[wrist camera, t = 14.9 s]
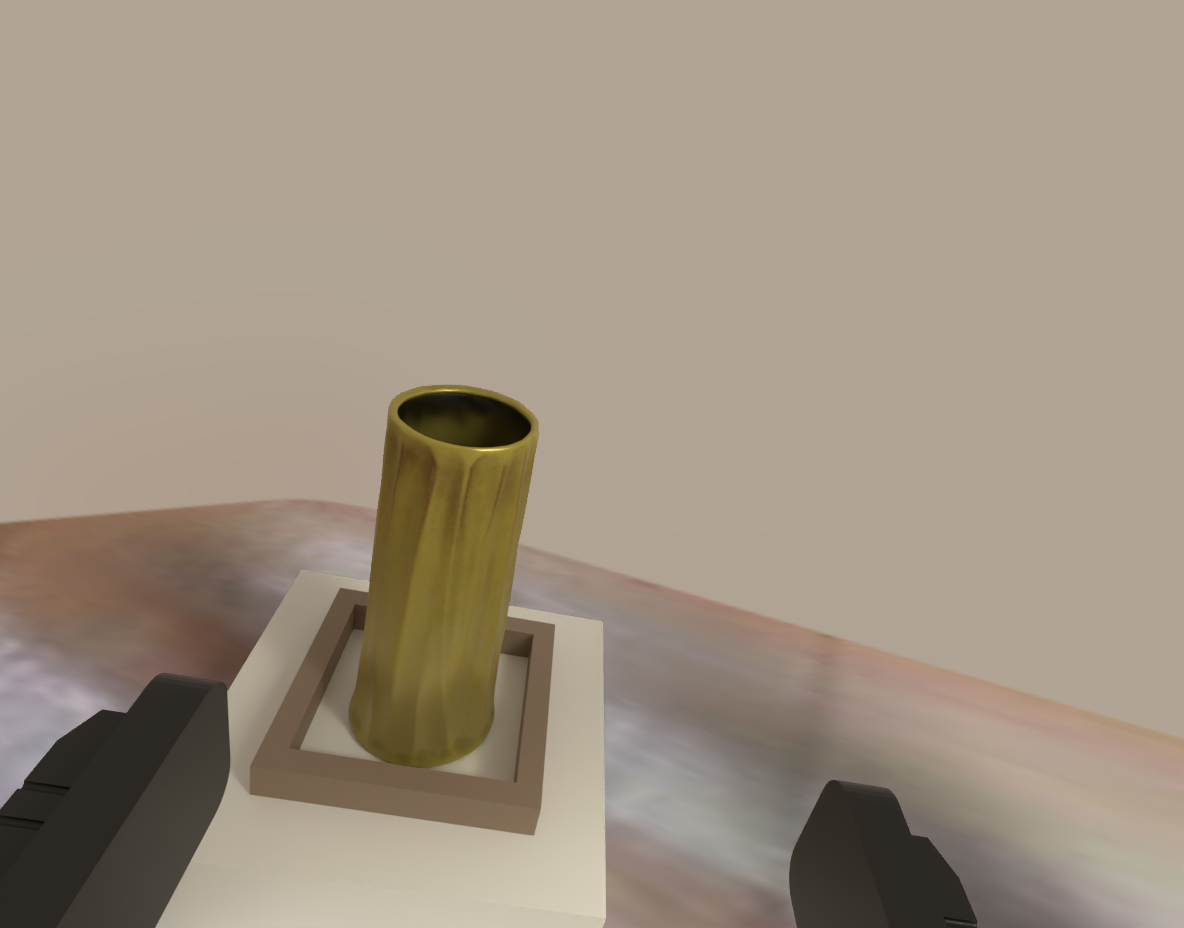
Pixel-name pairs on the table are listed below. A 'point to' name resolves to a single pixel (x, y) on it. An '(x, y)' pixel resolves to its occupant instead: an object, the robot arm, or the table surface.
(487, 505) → the vase
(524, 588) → the table surface
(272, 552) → the table surface
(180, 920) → the display stand
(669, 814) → the table surface
